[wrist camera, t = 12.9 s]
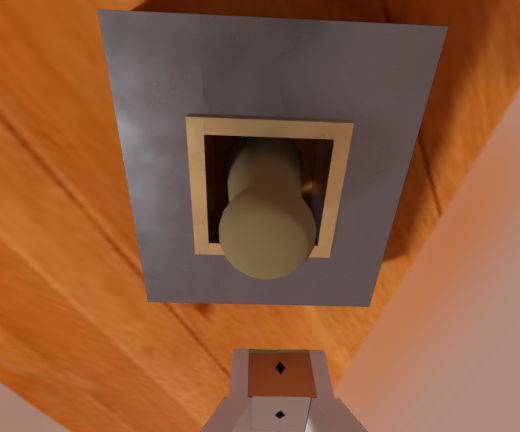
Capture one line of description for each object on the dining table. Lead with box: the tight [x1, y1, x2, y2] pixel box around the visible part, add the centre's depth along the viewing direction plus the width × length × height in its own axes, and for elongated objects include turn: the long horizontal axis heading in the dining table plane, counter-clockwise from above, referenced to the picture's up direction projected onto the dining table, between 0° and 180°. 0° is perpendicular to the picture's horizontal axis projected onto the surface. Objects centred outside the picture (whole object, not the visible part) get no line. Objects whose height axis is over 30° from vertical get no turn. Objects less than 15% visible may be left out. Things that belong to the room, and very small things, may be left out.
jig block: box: [98, 9, 449, 307], centre depth 24 cm, size 20×18×5 cm
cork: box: [219, 136, 316, 279], centre depth 21 cm, size 6×6×11 cm
